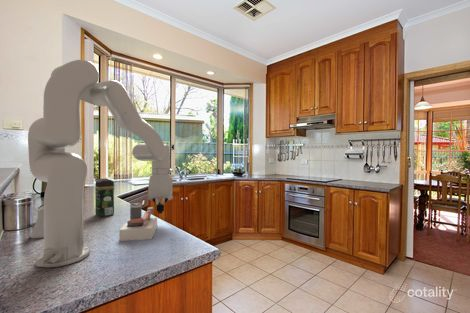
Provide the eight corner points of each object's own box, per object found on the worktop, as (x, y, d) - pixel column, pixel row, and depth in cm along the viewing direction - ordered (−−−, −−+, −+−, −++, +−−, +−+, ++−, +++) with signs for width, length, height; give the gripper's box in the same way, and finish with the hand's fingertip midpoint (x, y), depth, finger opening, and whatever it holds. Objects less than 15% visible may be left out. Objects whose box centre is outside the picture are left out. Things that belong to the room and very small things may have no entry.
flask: (40, 239, 82) (40, 212, 82) (24, 238, 83) (24, 211, 83) (59, 233, 89) (59, 207, 89) (44, 231, 90) (44, 206, 90)
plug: (142, 237, 85) (142, 205, 85) (125, 238, 84) (125, 205, 84) (145, 231, 91) (145, 202, 91) (129, 232, 90) (129, 202, 90)
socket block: (151, 238, 84) (151, 223, 84) (119, 240, 82) (119, 225, 81) (157, 226, 97) (157, 213, 97) (129, 228, 95) (129, 214, 95)
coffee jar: (93, 214, 117) (93, 178, 117) (110, 211, 122) (110, 177, 122) (98, 218, 110) (98, 179, 109) (115, 215, 115) (116, 178, 115)
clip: (140, 211, 101) (140, 207, 101) (153, 210, 102) (153, 207, 102) (130, 223, 84) (130, 218, 84) (146, 222, 85) (146, 218, 85)
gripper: (178, 171, 106) (178, 210, 106) (144, 171, 104) (144, 211, 104) (177, 172, 99) (177, 214, 99) (141, 172, 96) (140, 215, 96)
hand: (160, 212), depth 101 cm, fingers closed
